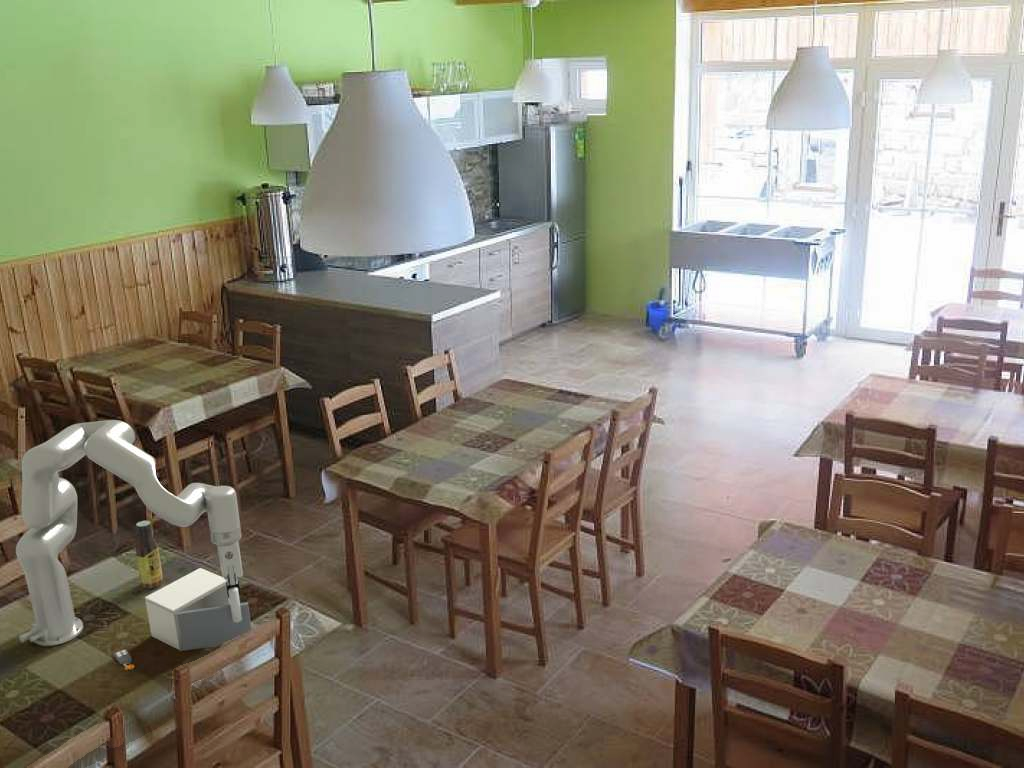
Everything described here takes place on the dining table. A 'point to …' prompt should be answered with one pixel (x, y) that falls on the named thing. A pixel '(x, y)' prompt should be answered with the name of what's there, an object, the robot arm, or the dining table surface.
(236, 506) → the robot arm
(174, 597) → the case
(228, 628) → the side door
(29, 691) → the dining table surface
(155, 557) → the sauce bottle
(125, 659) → the key chain
